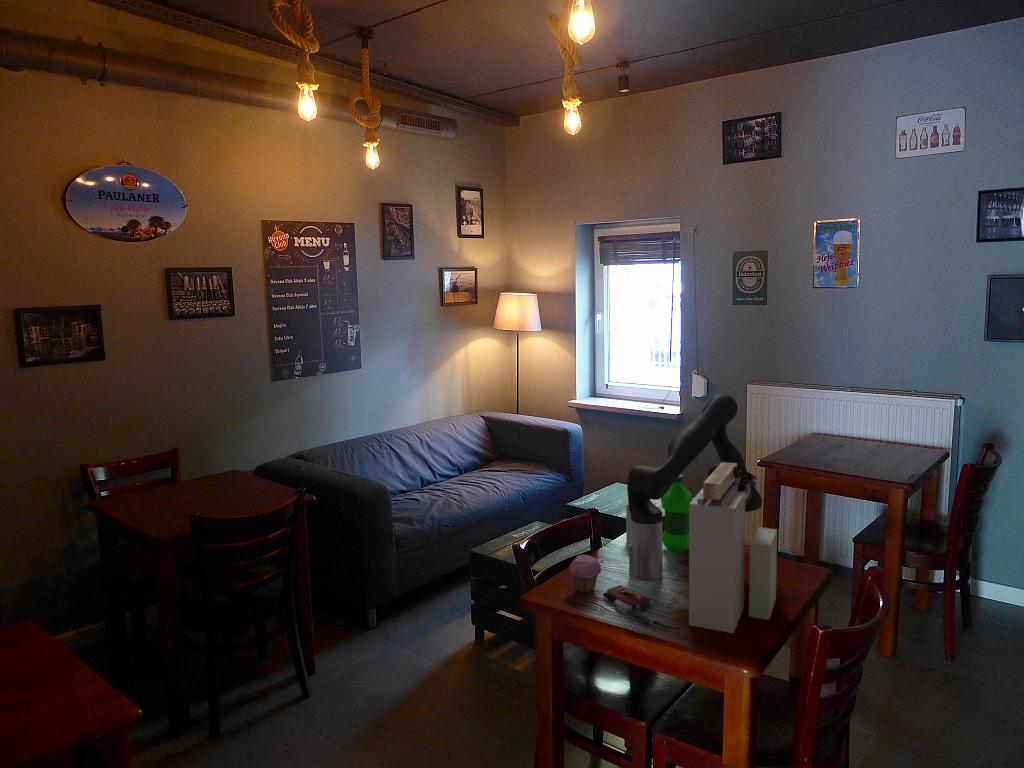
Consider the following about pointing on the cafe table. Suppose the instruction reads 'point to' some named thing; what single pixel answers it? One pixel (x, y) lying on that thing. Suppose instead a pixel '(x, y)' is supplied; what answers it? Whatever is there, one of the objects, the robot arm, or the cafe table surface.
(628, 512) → the small box
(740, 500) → the grey stand
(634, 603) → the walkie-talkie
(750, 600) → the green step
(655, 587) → the cafe table surface
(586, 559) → the cupcake
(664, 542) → the plastic bottle
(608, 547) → the cafe table surface
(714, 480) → the birch bar
